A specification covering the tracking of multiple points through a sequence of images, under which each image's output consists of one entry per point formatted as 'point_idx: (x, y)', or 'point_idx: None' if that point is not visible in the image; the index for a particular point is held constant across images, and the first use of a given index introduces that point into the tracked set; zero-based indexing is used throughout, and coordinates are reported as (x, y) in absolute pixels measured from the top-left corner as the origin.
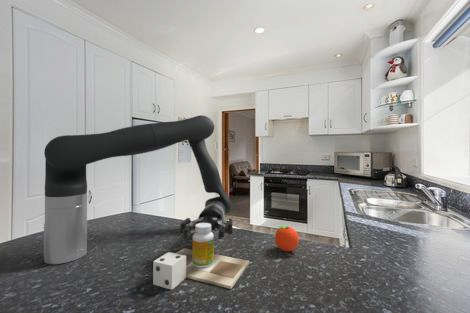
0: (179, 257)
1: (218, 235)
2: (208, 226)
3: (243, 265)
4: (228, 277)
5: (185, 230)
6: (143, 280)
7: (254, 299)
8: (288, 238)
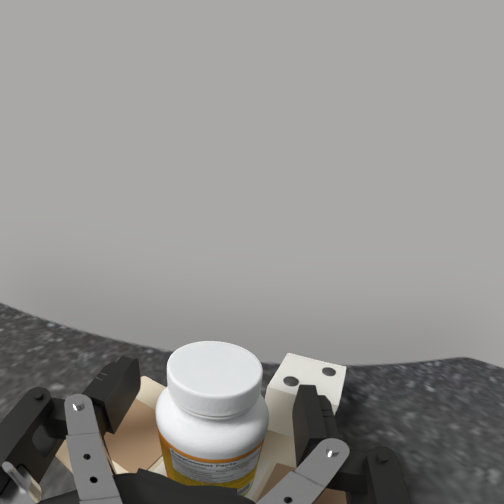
0: (284, 378)
1: (139, 372)
2: (186, 345)
3: None
4: (139, 399)
5: (311, 385)
6: (362, 419)
7: (115, 352)
8: None
